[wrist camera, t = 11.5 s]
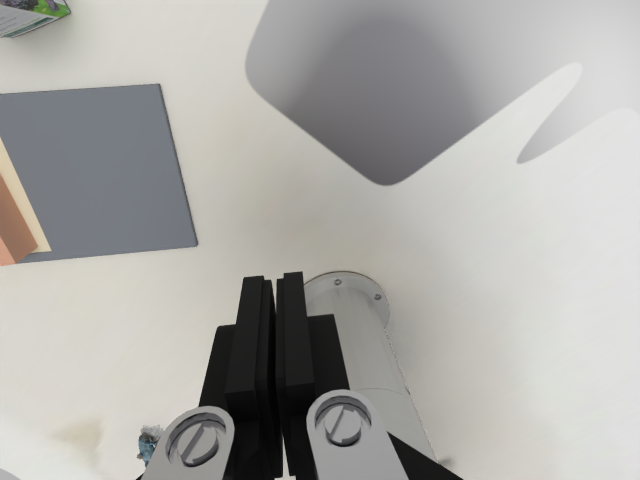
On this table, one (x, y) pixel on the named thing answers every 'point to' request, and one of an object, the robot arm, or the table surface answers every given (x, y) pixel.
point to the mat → (94, 171)
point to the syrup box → (28, 15)
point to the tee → (13, 230)
